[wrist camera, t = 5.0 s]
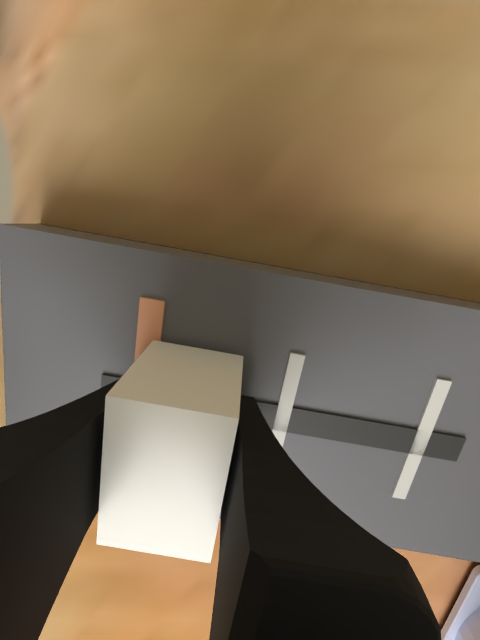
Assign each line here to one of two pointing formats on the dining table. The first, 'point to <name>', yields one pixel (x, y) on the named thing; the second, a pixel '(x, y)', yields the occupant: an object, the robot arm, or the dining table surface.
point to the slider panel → (269, 366)
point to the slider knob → (169, 450)
